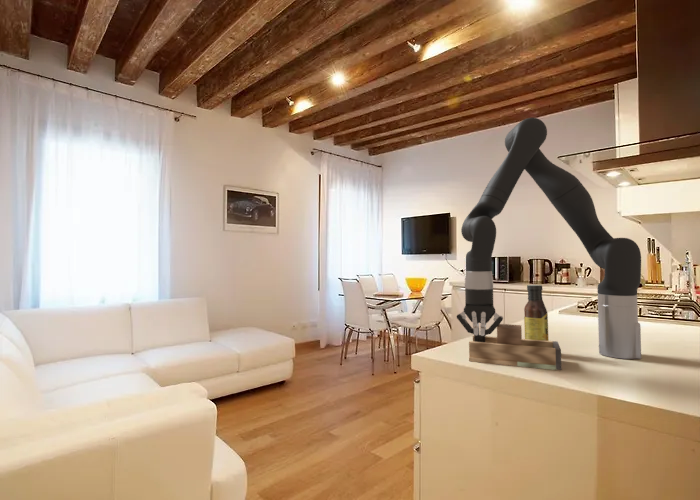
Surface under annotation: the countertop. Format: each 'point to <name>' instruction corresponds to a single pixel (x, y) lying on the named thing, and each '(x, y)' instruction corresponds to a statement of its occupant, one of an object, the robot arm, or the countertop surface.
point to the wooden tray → (517, 353)
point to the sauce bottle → (535, 315)
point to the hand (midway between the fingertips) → (479, 348)
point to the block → (509, 334)
